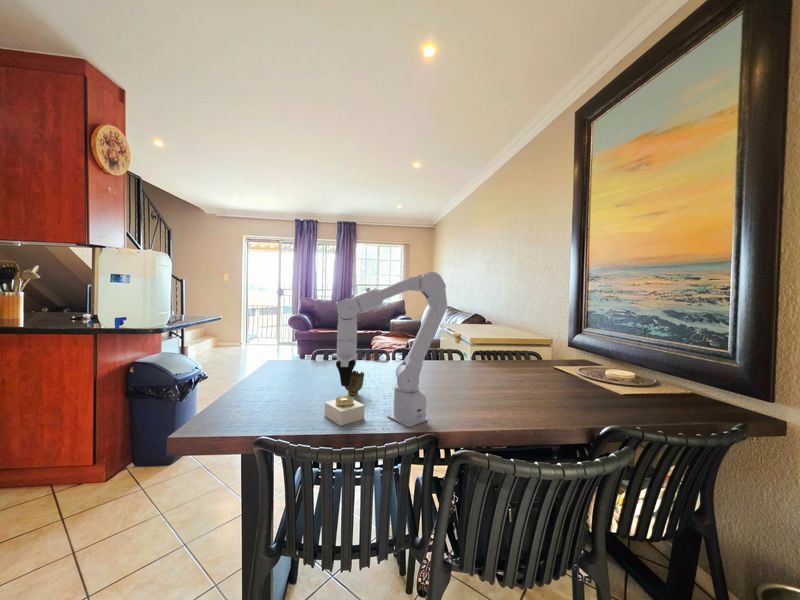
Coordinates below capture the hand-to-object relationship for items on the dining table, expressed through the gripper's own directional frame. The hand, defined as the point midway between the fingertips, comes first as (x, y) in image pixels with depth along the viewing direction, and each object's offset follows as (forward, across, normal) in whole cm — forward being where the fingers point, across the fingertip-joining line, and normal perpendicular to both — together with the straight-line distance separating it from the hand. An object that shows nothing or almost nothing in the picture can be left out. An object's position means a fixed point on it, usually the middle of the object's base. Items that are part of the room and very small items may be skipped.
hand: (345, 385), depth 92 cm
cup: (+10, -19, +2) cm, 22 cm away
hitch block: (+9, 0, 0) cm, 9 cm away
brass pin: (+9, 0, 0) cm, 9 cm away
